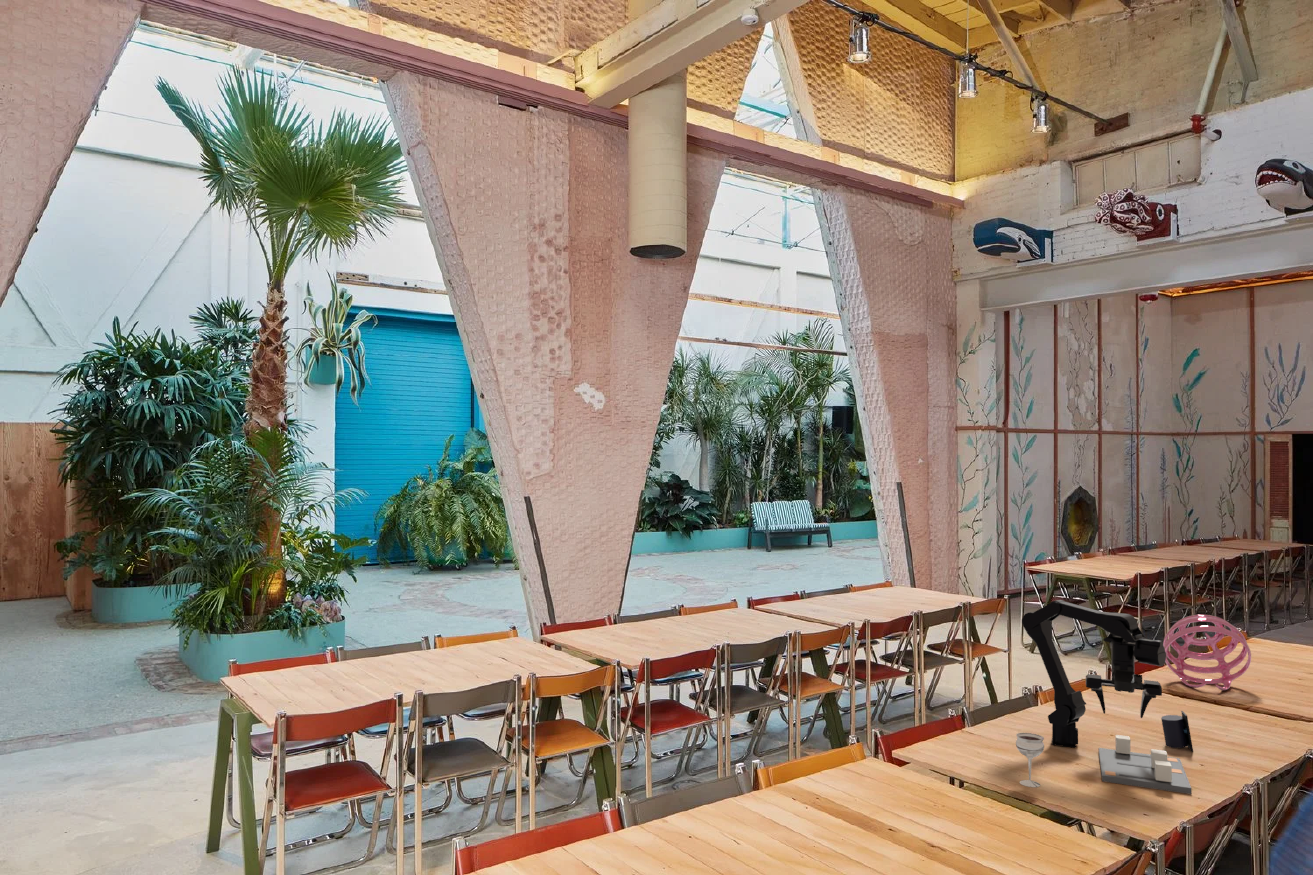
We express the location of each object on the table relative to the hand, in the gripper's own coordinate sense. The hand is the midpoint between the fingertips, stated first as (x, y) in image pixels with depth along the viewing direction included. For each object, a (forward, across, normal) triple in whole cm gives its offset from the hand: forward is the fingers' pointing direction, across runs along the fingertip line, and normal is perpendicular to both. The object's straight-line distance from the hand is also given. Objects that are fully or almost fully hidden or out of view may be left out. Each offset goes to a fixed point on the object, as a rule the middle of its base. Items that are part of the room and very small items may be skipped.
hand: (1122, 715), depth 248 cm
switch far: (+10, 0, 0) cm, 10 cm away
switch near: (+10, +8, -20) cm, 24 cm away
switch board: (+12, +4, -10) cm, 16 cm away
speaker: (+12, +15, +19) cm, 27 cm away
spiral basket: (+12, +34, +108) cm, 114 cm away
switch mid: (+10, +8, -10) cm, 16 cm away
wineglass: (+12, -23, -33) cm, 42 cm away
